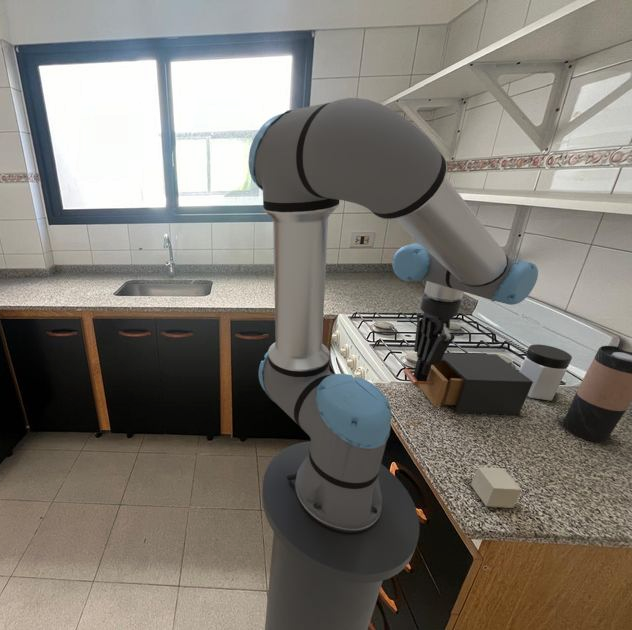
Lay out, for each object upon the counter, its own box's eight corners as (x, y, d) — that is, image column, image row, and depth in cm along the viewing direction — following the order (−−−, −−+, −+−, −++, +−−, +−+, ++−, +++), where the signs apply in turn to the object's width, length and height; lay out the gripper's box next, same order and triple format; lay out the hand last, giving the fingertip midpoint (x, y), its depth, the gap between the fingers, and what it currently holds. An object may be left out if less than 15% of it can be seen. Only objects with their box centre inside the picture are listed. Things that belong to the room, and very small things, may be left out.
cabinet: (455, 412, 84) (466, 379, 81) (429, 382, 96) (438, 352, 92) (518, 414, 83) (533, 381, 79) (485, 384, 95) (496, 354, 91)
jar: (516, 378, 97) (531, 340, 93) (555, 390, 92) (573, 351, 87) (510, 391, 92) (526, 352, 87) (551, 405, 86) (570, 364, 82)
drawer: (414, 406, 85) (421, 379, 82) (395, 379, 96) (401, 355, 93) (492, 409, 84) (503, 382, 81) (464, 382, 94) (473, 357, 91)
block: (486, 506, 61) (494, 488, 59) (470, 484, 66) (477, 466, 64) (513, 508, 61) (522, 489, 59) (495, 486, 65) (503, 468, 63)
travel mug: (579, 441, 75) (622, 362, 67) (552, 417, 82) (588, 344, 74) (619, 444, 74) (667, 365, 66) (588, 420, 81) (629, 346, 73)
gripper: (477, 307, 73) (447, 398, 83) (444, 287, 85) (421, 368, 94) (440, 306, 74) (415, 397, 83) (412, 287, 86) (393, 367, 95)
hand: (418, 382), depth 89 cm, fingers closed
